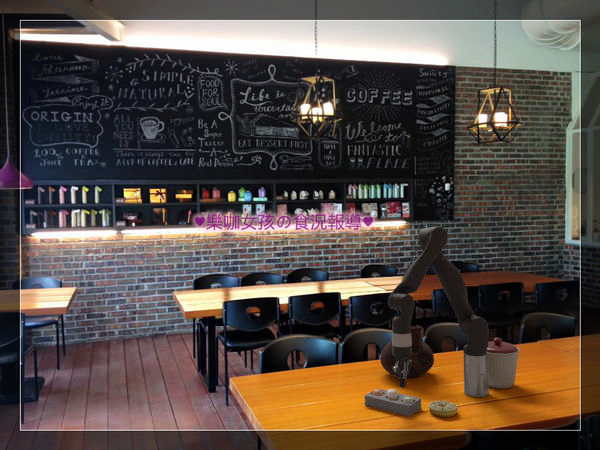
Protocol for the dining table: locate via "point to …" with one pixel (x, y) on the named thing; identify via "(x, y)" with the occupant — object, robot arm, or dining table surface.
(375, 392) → the terracotta button
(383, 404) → the block
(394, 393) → the ivory button
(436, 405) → the decorated donut
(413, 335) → the jug
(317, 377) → the dining table surface
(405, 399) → the sage button
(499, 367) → the canister
